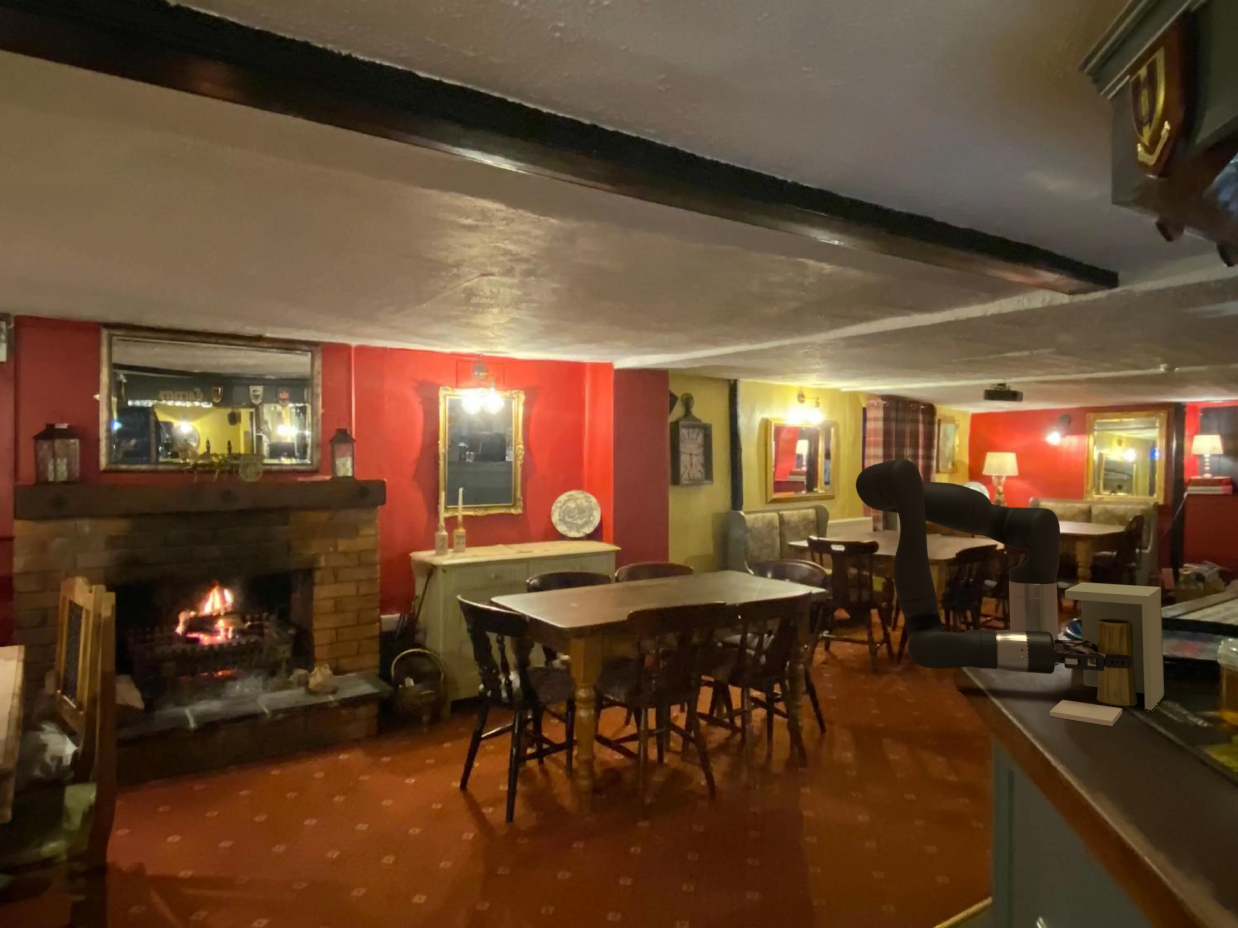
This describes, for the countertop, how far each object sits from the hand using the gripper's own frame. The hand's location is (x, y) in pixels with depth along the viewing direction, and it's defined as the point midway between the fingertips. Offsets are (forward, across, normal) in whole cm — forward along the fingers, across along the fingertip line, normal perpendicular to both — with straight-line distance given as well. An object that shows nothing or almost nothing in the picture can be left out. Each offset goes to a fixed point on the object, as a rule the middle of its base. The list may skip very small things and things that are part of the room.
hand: (1125, 656), depth 142 cm
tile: (-8, -10, +8) cm, 15 cm away
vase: (-2, 0, +8) cm, 8 cm away
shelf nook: (-1, +4, +8) cm, 9 cm away
